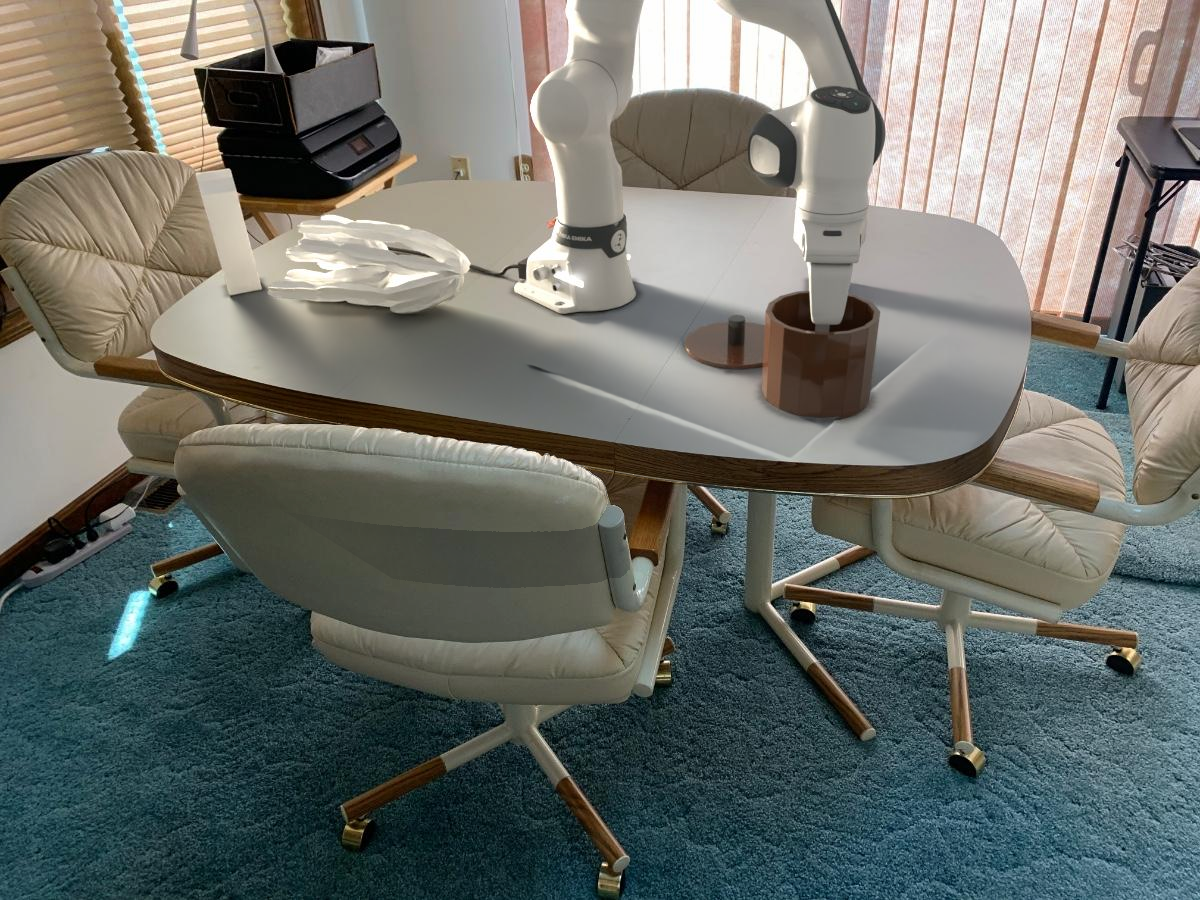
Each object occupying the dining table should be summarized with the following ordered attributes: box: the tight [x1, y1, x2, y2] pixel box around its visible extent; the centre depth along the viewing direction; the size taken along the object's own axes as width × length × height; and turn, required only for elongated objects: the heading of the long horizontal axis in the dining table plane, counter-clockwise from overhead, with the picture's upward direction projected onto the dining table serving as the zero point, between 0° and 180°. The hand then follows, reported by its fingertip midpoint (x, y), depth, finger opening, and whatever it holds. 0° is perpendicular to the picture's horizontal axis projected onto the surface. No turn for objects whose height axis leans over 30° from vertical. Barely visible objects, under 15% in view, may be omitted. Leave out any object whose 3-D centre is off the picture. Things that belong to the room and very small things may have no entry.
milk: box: [195, 168, 263, 296], centre depth 168 cm, size 6×6×22 cm
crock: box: [761, 290, 881, 421], centre depth 124 cm, size 15×15×13 cm
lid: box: [684, 314, 765, 370], centre depth 139 cm, size 16×16×5 cm
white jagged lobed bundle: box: [267, 214, 471, 315], centre depth 159 cm, size 17×18×35 cm
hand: (821, 327), depth 122 cm, fingers closed
